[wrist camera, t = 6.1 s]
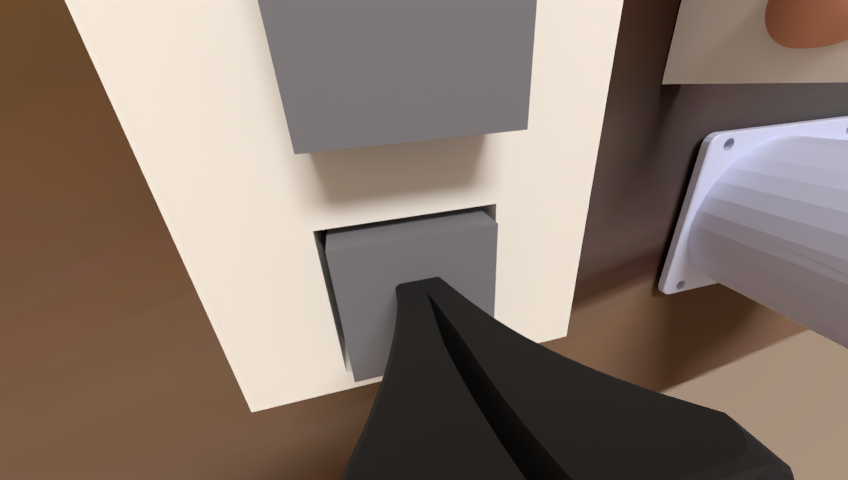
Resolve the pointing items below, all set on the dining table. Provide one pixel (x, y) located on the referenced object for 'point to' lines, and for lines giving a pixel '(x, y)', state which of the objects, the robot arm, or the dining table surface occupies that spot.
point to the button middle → (399, 69)
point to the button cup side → (405, 273)
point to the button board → (338, 178)
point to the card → (759, 42)
